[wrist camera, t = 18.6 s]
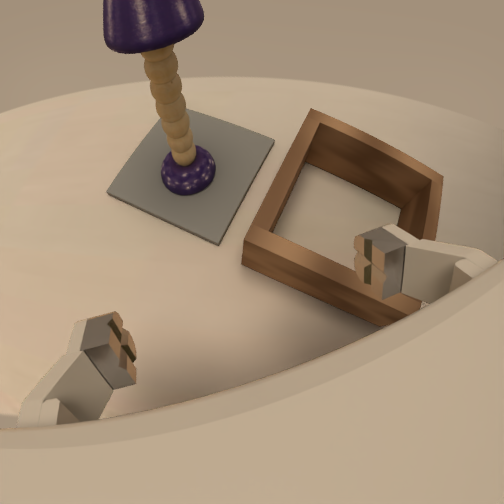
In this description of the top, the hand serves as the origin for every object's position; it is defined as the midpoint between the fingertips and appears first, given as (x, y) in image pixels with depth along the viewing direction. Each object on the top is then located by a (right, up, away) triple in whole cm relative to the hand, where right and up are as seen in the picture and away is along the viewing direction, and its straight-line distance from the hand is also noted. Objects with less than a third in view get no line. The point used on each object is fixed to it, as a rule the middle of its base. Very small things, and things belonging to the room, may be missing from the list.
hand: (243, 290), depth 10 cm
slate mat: (-5, +8, +14) cm, 16 cm away
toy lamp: (-5, +8, +13) cm, 16 cm away
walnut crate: (+7, +3, +13) cm, 15 cm away
